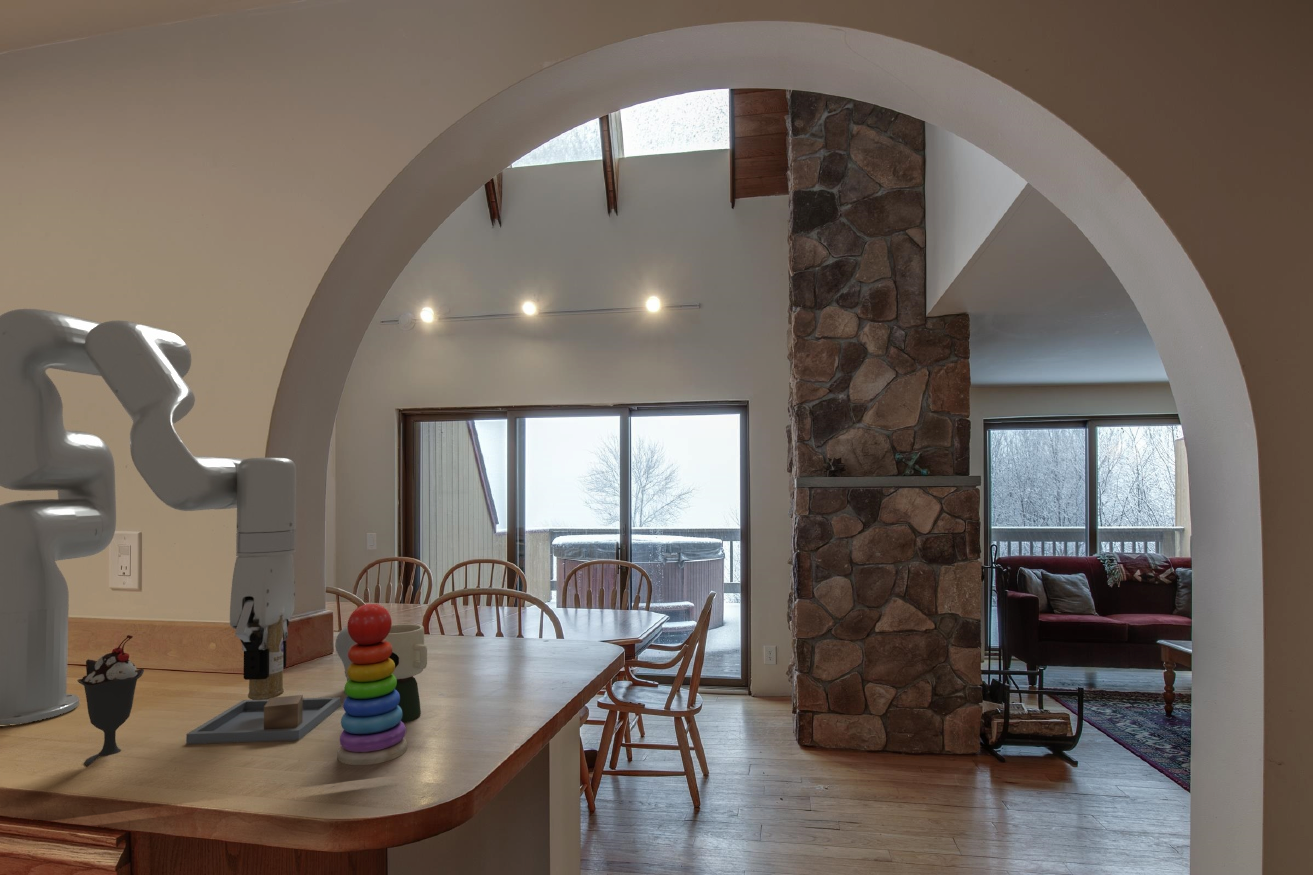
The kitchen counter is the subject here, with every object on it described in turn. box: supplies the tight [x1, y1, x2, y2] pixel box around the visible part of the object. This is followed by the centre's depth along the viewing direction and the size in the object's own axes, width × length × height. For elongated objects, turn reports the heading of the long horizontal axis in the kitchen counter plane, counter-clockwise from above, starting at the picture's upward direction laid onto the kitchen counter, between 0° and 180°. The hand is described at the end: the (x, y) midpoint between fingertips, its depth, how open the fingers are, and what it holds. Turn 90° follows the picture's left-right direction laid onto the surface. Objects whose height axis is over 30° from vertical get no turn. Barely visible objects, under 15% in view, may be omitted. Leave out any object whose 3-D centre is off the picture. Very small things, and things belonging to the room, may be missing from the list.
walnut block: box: [264, 694, 304, 729], centre depth 97 cm, size 4×4×4 cm
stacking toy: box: [337, 603, 408, 766], centre depth 89 cm, size 8×8×19 cm
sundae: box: [77, 634, 145, 767], centre depth 91 cm, size 7×7×15 cm
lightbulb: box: [334, 626, 357, 682], centre depth 116 cm, size 6×6×11 cm
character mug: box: [383, 623, 428, 724], centre depth 102 cm, size 11×7×13 cm, turn 62°
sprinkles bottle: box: [247, 606, 285, 700], centre depth 103 cm, size 5×5×13 cm
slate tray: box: [185, 696, 342, 745], centre depth 100 cm, size 14×14×2 cm
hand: (265, 672), depth 103 cm, fingers closed on sprinkles bottle, 4 cm apart
